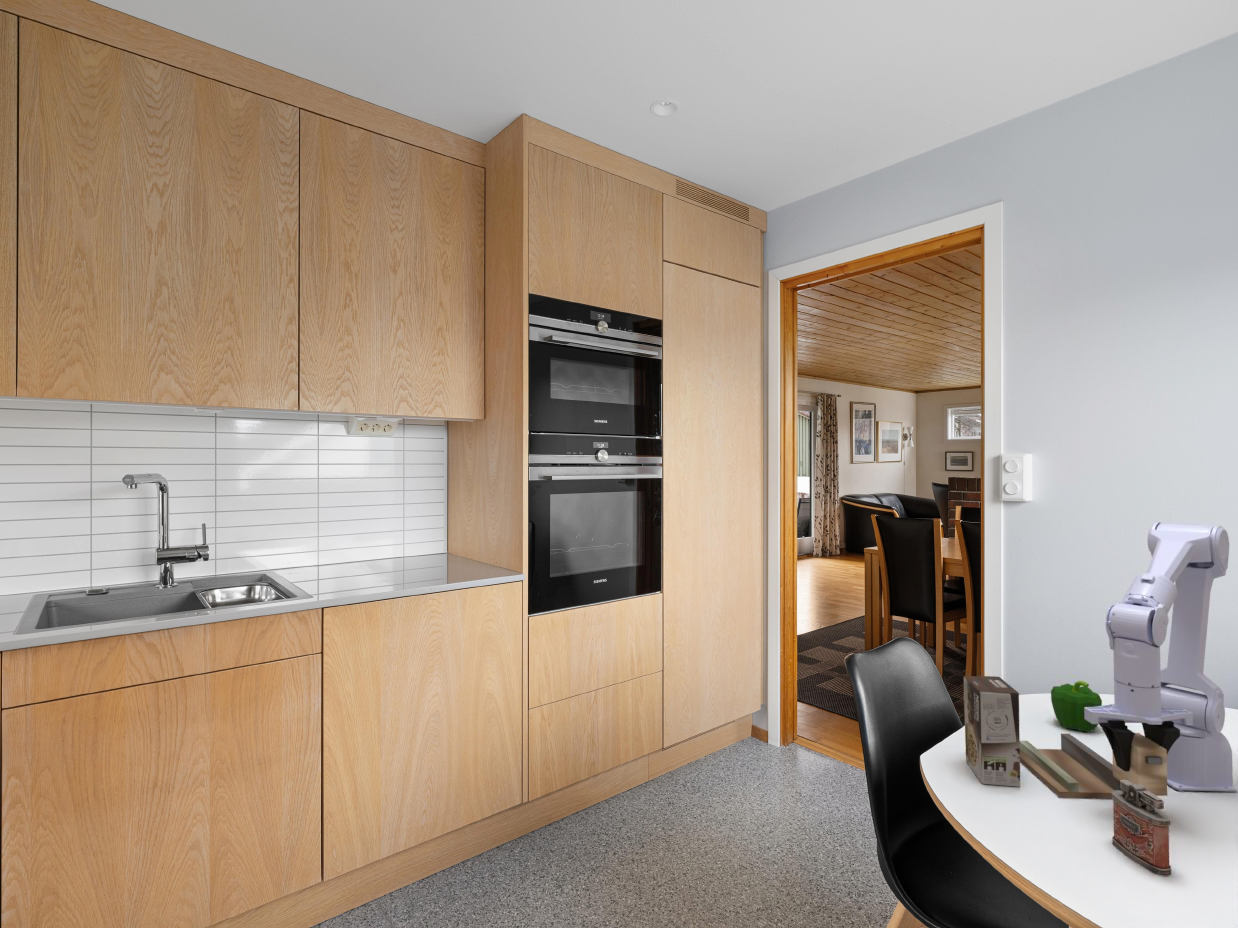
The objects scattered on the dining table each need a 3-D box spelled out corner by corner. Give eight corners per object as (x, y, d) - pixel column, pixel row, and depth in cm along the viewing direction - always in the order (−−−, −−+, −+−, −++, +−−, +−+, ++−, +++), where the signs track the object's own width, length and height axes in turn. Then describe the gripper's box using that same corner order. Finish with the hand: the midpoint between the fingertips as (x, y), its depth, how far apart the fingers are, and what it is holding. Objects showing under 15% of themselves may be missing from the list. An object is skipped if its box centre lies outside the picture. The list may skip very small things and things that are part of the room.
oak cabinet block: (1139, 776, 104) (1138, 732, 104) (1170, 797, 98) (1169, 751, 98) (1112, 775, 105) (1112, 732, 104) (1141, 797, 98) (1141, 751, 98)
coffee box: (1022, 787, 111) (1020, 693, 111) (981, 784, 112) (979, 691, 112) (1002, 762, 120) (1000, 675, 120) (964, 760, 121) (962, 674, 121)
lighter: (1105, 841, 95) (1104, 773, 95) (1127, 840, 95) (1125, 772, 95) (1155, 876, 87) (1154, 802, 87) (1179, 875, 87) (1177, 800, 87)
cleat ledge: (1078, 754, 122) (1077, 733, 122) (1137, 799, 106) (1137, 775, 106) (1010, 753, 123) (1010, 732, 123) (1059, 797, 107) (1059, 773, 107)
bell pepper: (1044, 718, 139) (1043, 671, 139) (1086, 719, 138) (1085, 672, 138) (1065, 735, 131) (1064, 685, 131) (1110, 736, 130) (1109, 686, 130)
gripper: (1103, 690, 98) (1105, 780, 98) (1208, 691, 97) (1209, 782, 97) (1075, 674, 105) (1077, 758, 105) (1172, 675, 104) (1174, 760, 104)
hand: (1138, 768), depth 101 cm, fingers closed on oak cabinet block, 4 cm apart
